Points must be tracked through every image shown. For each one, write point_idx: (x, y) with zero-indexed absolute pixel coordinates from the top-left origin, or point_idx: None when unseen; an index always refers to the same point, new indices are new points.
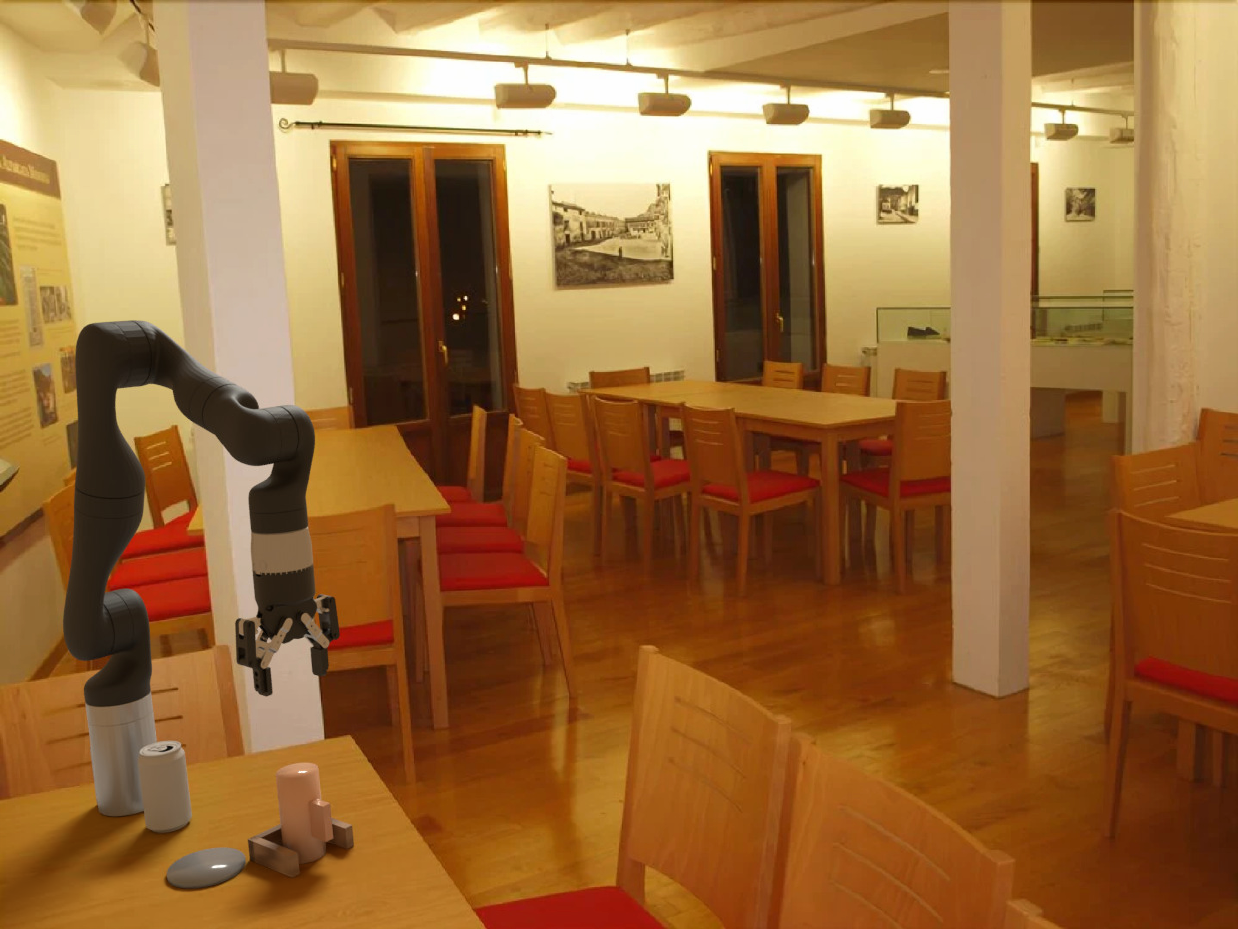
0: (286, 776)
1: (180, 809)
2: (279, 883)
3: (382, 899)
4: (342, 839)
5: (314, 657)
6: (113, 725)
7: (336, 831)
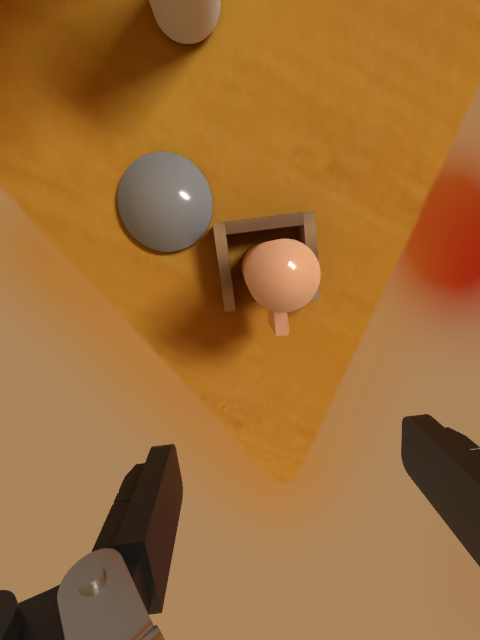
0: (259, 283)
1: (189, 25)
2: (209, 306)
3: (261, 414)
4: None
5: (452, 485)
6: None
7: None
